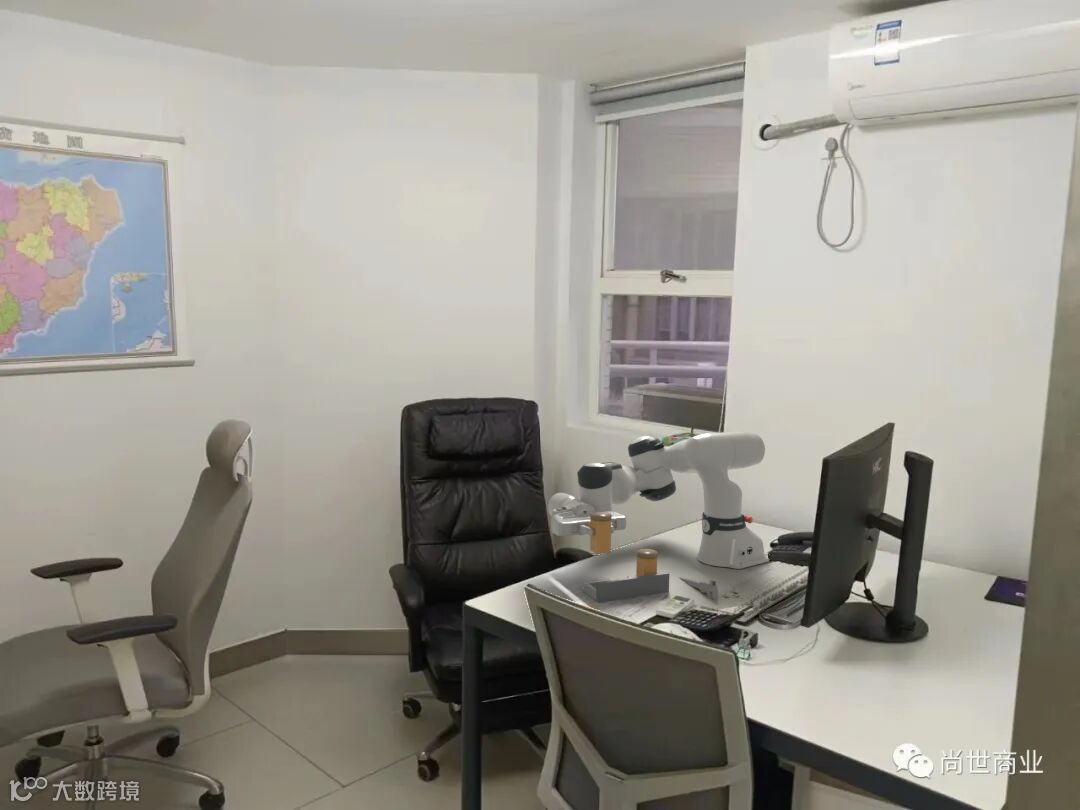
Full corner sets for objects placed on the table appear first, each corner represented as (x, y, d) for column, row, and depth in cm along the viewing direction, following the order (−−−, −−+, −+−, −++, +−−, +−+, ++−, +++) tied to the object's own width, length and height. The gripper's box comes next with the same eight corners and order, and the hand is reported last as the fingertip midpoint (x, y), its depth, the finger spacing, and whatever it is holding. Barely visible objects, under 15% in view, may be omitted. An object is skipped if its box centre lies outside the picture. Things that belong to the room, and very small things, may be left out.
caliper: (717, 605, 208) (718, 582, 207) (714, 606, 207) (715, 582, 207) (678, 580, 227) (678, 558, 226) (674, 580, 226) (675, 558, 226)
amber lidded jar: (605, 546, 215) (605, 511, 214) (614, 553, 210) (615, 516, 209) (586, 549, 213) (586, 513, 212) (595, 555, 208) (595, 518, 206)
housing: (649, 583, 223) (650, 562, 222) (668, 595, 214) (669, 573, 213) (581, 593, 215) (581, 571, 214) (597, 607, 206) (598, 583, 205)
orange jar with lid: (650, 582, 220) (650, 547, 219) (660, 589, 215) (661, 554, 214) (632, 585, 218) (632, 550, 217) (642, 592, 213) (643, 556, 212)
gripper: (613, 525, 227) (637, 539, 214) (546, 532, 219) (566, 547, 207) (613, 503, 226) (637, 515, 213) (546, 510, 218) (567, 523, 206)
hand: (602, 531), depth 210 cm, fingers closed on amber lidded jar, 4 cm apart
